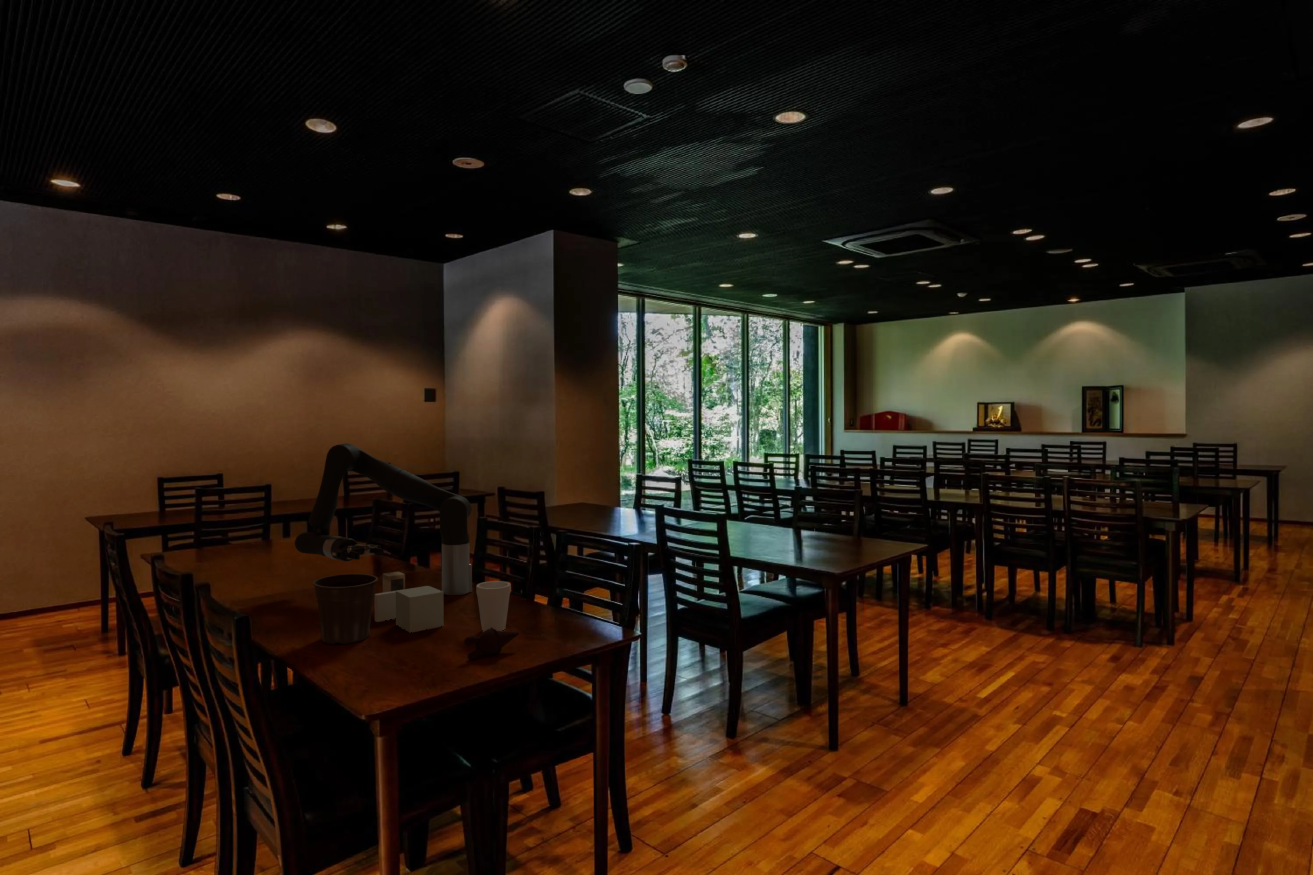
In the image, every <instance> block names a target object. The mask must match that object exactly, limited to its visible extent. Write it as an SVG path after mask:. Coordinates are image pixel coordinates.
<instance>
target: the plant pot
mask: <svg viewBox="0 0 1313 875" xmlns="http://www.w3.org/2000/svg"><path fill="white" fill-rule="evenodd" d="M377 582H378V577H377V576H376V575H372V574H368V573H342V574H334V575H328V576H325V577H320V578H318V579H317V578H316V579H315V580H314V581H313V582H312V585H313V586H314V589H315V597H316V599H317V606H318V615H319V617H318V618H319V627H320V628H319V629H320V631H319V632H320V640H321V641H322V643H324V644H327V645H335V644H337V643H338V644H340V645H347V644H355V642H356V643H358V642H361V641H364V640H366V639H368V637H369V636H370V632H371V621H372V613H373V612H372V610H373V602H374V600H373V599H374V595H375V594H376V583H377Z"/></svg>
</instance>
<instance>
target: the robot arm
mask: <svg viewBox="0 0 1313 875" xmlns="http://www.w3.org/2000/svg"><path fill="white" fill-rule="evenodd" d="M347 471H349V472H350V471H351V472H352V473H353V472H354V473H356V474H359V475H361V476H362V477H363V476H364V477H365V478H367V479H369V480H371V481H372V482H373V483H375V485H377V486H378V487H379V488H381V490H384V491H385V492H387V493H389V494H390V495H393V496H395V497H397V498H399V499H402V500H404V501H407V502H411V503H414V504H415V503H416V504H418V505H419V504H420V505H423V506H427V507H429V508H431V509H434V510H435V511H438V512H439V534H440V537H441V591H443V592H444V595H446V596H460V595H461V596H462V595H466V594H468V593H472V592H473V566H472V564H471V563H470V533H469V532H468V518H469V517H470V516H471V513H472V504H471V502H470V501H469V500H468V498H466V497H464V496H462V495H459V494H456V493H453V492H450V491H448V490H445V489H443V488H441V487H438V486H436V485H434V484H432V483H430V482H429V481H427V480H426V479H425V480H424V479H423V478H421V477H419V476H418V475H415V474H413V473H412V472H409V471H407V470H405V469H403V468H400V467H398V466H395V465H393V464H391V463H388V462H386V461H383V460H381V459H378V458H376V457H375V456H373V455H371V454H369V453H367V452H365V450H363V449H361V448H359V447H358V446H356V445H354V444H351V443H340V444H339V443H338V444H335V445H333V446H332V447H330V448H329V449H328V451H327V454H326V458H325V461H324V468H323V473H322V478H321V483H320V486H319V490H318V493H317V496H316V499H315V502H314V505H313V508H312V510H311V512H310V515H309V518H308V524H309V525H310V526H311V527H313V528H315V529H317V531H316V532H309V531H307V532H306V531H305V532H301V533H299V534H298V535H297V536H296V538H295V540H294V547H295V550H297V552H300V553H301V554H309V555H319V556H322V557H327V558H329V559H333V560H336V561H342V562H351V561H352V560H356V561H358V560H360V559H361V557H370V556H373V555H375V556H379V557H382V556H384V548H382V546H381V545H378V544H371V543H368V544H359V543H358V542H357V540H355V539H354V538H349V537H346V536H345V537H344V536H335V535H334V536H333V535H330V534H331V526H332V525H331V524H332V521H333V519H334V516H335V513H336V510H337V508H338V507H337V506H338V503H339V491H340V487H341V483H342V480H343V478H344V477H345V474H346V473H347ZM365 552H366V553H365Z"/></svg>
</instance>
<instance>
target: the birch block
mask: <svg viewBox="0 0 1313 875" xmlns="http://www.w3.org/2000/svg"><path fill="white" fill-rule="evenodd" d="M403 589H406V574H405V573H403V572H401V571H393V572H385V573H382V593H384V592H391V591H397V590H403Z"/></svg>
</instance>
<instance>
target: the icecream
mask: <svg viewBox="0 0 1313 875" xmlns="http://www.w3.org/2000/svg"><path fill="white" fill-rule="evenodd" d="M519 635H520V633H519V631H506V630H504V631H497V630H495V629H493V628H492V627H491V628H490V629H488V630H486V631H484V632H483V631H481V633H480V634H479V636H474V635H469V636H467V637H465V638H464V641H463V643H464V644H465V645H466V646H470V647H471V646H472V647H473V646H474V647H475V648H476V649H473V650H471V651H470V652H469V653H467V659H468V660H469V661H470V660H471V661H472V660H476V659H477V658H479V657H480V656H482V654H483V655H486V656H487V655H489V656H491V655H492V656H494V655H499V654H500V653H501V652H502V648H504V647H505V646H506V645H507V644H509V643H510V642H512V640H513V639H515V638H516V637H518V636H519ZM493 654H494V655H493Z"/></svg>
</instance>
